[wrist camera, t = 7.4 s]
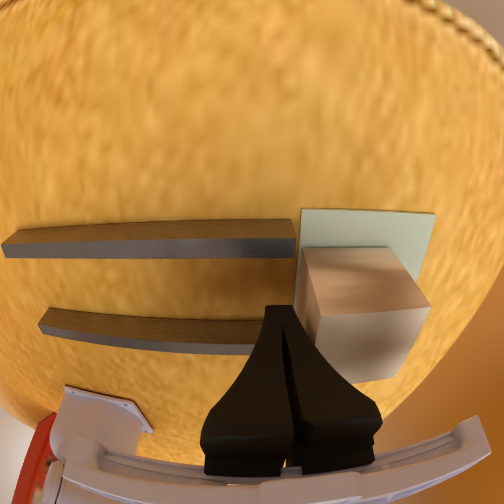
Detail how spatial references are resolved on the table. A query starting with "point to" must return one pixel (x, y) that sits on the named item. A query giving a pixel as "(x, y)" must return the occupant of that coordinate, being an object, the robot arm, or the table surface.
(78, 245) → the parallel grey rails
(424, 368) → the table surface
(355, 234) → the pad
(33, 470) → the file binder
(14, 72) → the table surface
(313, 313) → the block
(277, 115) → the table surface
